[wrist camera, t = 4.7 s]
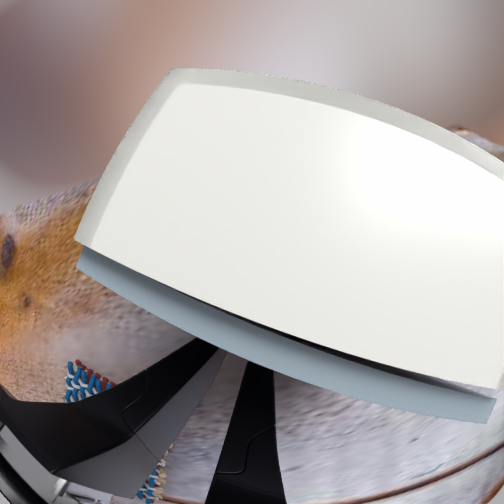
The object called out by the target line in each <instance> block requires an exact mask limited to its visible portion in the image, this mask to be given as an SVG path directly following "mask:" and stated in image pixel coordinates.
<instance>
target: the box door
mask: <svg viewBox="0 0 504 504" xmlns="http://www.w3.org/2000/svg"><path fill="white" fill-rule="evenodd" d="M76 268H77V269H79V270H80V271H82V272H83V273H85V274H87V275H88V276H90V277H91V278H93V279H94V280H96V281H97V282H99V283H101V284H102V285H104V286H105V287H107V288H109V289H110V290H112V291H114V292H115V293H117V294H118V295H120V296H122V297H124V298H125V299H127V300H129V301H130V302H132V303H134V304H136V305H137V306H139V307H141V308H143V309H144V310H146V311H148V312H150V313H152V314H154V315H155V316H157V317H159V318H161V319H163V320H165V321H167V322H169V323H170V324H172V325H174V326H176V327H178V328H180V329H182V330H184V331H186V332H188V333H190V334H192V335H194V336H196V337H198V338H200V339H202V340H205V341H207V342H209V343H211V344H213V345H215V346H217V347H220V348H222V349H224V350H226V351H228V352H231V353H233V354H235V355H238V356H240V357H242V358H245V359H247V360H249V361H252V362H254V363H257V364H259V365H261V366H264V367H266V368H269V369H272V370H274V371H277V372H279V373H282V374H285V375H287V376H290V377H293V378H295V379H298V380H301V381H304V382H307V383H309V384H312V385H315V386H318V387H321V388H324V389H327V390H331V391H334V392H337V393H340V394H343V395H347V396H350V397H353V398H357V399H360V400H364V401H368V402H371V403H375V404H379V405H383V406H387V407H391V408H395V409H399V410H404V411H408V412H413V413H418V414H423V415H428V416H433V417H439V418H445V419H451V420H458V421H465V422H473V423H482V424H486V423H487V421H488V419H489V416H490V414H491V412H492V410H493V407H494V405H495V403H496V400H497V399H495V398H492V397H489V396H486V395H484V394H481V393H478V392H475V391H472V390H470V389H467V388H464V387H462V386H459V385H456V384H454V383H451V382H448V381H446V380H443V379H440V378H437V377H433V376H429V375H425V374H421V373H417V372H413V371H409V370H405V369H401V368H397V367H393V366H390V365H386V364H383V363H379V362H375V361H372V360H369V359H365V358H362V357H358V356H355V355H352V354H348V353H345V352H342V351H339V350H336V349H332V348H329V347H326V346H323V345H320V344H317V343H314V342H311V341H308V340H305V339H302V338H299V337H297V336H294V335H291V334H288V333H285V332H282V331H280V330H277V329H274V328H271V327H269V326H266V325H263V324H260V323H258V322H255V321H253V320H250V319H247V318H245V317H242V316H240V315H237V314H234V313H232V312H229V311H227V310H224V309H222V308H219V307H217V306H215V305H212V304H210V303H207V302H205V301H202V300H200V299H198V298H195V297H193V296H191V295H188V294H186V293H184V292H181V291H179V290H177V289H175V288H172V287H170V286H168V285H166V284H163V283H161V282H159V281H157V280H155V279H152V278H150V277H148V276H146V275H144V274H142V273H139V272H137V271H135V270H133V269H131V268H129V267H127V266H125V265H123V264H121V263H119V262H117V261H115V260H113V259H111V258H109V257H107V256H105V255H103V254H101V253H99V252H97V251H95V250H93V249H91V248H89V247H87V246H85V245H84V247H83V250H82V252H81V255H80V257H79V260H78V263H77V265H76Z"/></svg>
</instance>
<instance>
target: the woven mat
mask: <svg viewBox="0 0 504 504" xmlns="http://www.w3.org/2000/svg"><path fill="white" fill-rule="evenodd" d="M75 362H76V364H75V363H72V362H68V370H69V372H68V371H67V375H68V377H64V379H65V380H66V382H67V383H66V384H65V385H66V387H67V389H68V390H67V393H64V392H63V395H64V396H65V399H64V400H65V403H67V402H74V401H78V400H82V399H84V398H87V397H89V396H92V395H94V394H97V393H99V392H101V391H104V390H106V389H109V388H111V387H113V386H115V383H113V382H110V383H109V382H108V379H107V378H105V377H103V379H102V378H100V375H99V374H98V373H95V374H94V373H93V370H91V369H86V366H85V365H81V362H80V361H79V360H78V359H77V360H76V361H75ZM74 373H75V374H74ZM70 399H71V400H70ZM172 446H173V443H172V444H171V446H170V447H169V448H172ZM167 454H168V450H167V451H166V453H165V454H164V455H165V456H167ZM158 462H159V463H158V464H157V466H156V467H155V469H154V470H153V471H152V473H151V474H150V476H149V477H148V478H147V480H146V481H145V483H144V484H143V485H142V487H141V488H140V490H139V491H138V492H137V496H138V498H140V499H143V497H144V498H146V497H147V499H146V503H147V504H151V503H153V502H154V499H155V500H157V501H158V500H159V499H163V497H162V496H160V495H158V494H163V493H164V491H163V488H162V487H158V486H159V485H161V483H162V484H164V485H165V484H166V480H164V479H162V478H165V477H167V475H166V473H165V471H164V470H163V469H161V468H160V465H162V466H163V467H164V466H165V464H166V460H164V459H161V460H160V461H158ZM158 475H159V476H160V477H161V478H160V477H158ZM147 488H148V489H147Z"/></svg>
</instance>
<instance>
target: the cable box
mask: <svg viewBox="0 0 504 504" xmlns="http://www.w3.org/2000/svg"><path fill="white" fill-rule="evenodd" d="M74 240H76V241H77V242H79V243H81V244H83V245H85V246H87V247H89V248H91V249H93V250H95V251H97V252H99V253H101V254H103V255H105V256H107V257H109V258H111V259H113V260H115V261H117V262H119V263H121V264H123V265H125V266H127V267H129V268H131V269H133V270H135V271H137V272H139V273H142V274H144V275H146V276H148V277H150V278H152V279H155V280H157V281H159V282H161V283H163V284H166V285H168V286H170V287H172V288H175V289H177V290H179V291H181V292H184V293H186V294H188V295H191V296H193V297H195V298H198V299H200V300H202V301H205V302H207V303H210V304H212V305H215V306H217V307H219V308H222V309H224V310H227V311H229V312H232V313H234V314H237V315H240V316H242V317H245V318H247V319H250V320H253V321H255V322H258V323H260V324H263V325H266V326H269V327H271V328H274V329H277V330H280V331H282V332H285V333H288V334H291V335H294V336H297V337H299V338H302V339H305V340H308V341H311V342H314V343H317V344H320V345H323V346H326V347H329V348H332V349H336V350H339V351H342V352H345V353H348V354H352V355H355V356H358V357H362V358H365V359H369V360H372V361H375V362H379V363H383V364H386V365H390V366H393V367H397V368H401V369H405V370H409V371H413V372H417V373H421V374H425V375H429V376H433V377H437V378H442V379H446V380H451V381H456V382H460V383H465V384H470V385H476V386H481V387H486V388H492V389H498V390H504V163H503V162H502V161H500V160H499V159H497V158H496V157H494V156H493V155H491V154H489V153H488V152H486V151H485V150H483V149H481V148H479V147H478V146H476V145H474V144H473V143H471V142H469V141H467V140H465V139H464V138H462V137H460V136H458V135H456V134H454V133H452V132H450V131H448V130H446V129H444V128H442V127H440V126H437V125H436V124H433V123H431V122H429V121H427V120H424V119H422V118H420V117H418V116H415V115H413V114H410V113H408V112H405V111H403V110H400V109H398V108H395V107H392V106H390V105H387V104H384V103H381V102H378V101H375V100H372V99H369V98H366V97H363V96H360V95H357V94H353V93H350V92H346V91H343V90H339V89H335V88H331V87H327V86H323V85H319V84H315V83H310V82H305V81H300V80H295V79H290V78H284V77H278V76H272V75H265V74H257V73H249V72H240V71H229V70H214V69H171V70H170V72H169V73H168V74H167V75H166V77H165V78H164V79H163V81H162V82H161V83H160V85H159V86H158V87H157V88H156V90H155V91H154V93H153V94H152V95H151V97H150V98H149V100H148V101H147V103H146V104H145V105H144V107H143V108H142V110H141V111H140V113H139V114H138V116H137V117H136V119H135V120H134V122H133V124H132V125H131V126H130V128H129V130H128V131H127V133H126V134H125V136H124V138H123V139H122V141H121V143H120V144H119V146H118V148H117V150H116V152H115V153H114V155H113V157H112V158H111V160H110V162H109V164H108V166H107V168H106V169H105V171H104V173H103V175H102V177H101V179H100V181H99V183H98V185H97V187H96V189H95V191H94V193H93V195H92V197H91V200H90V202H89V204H88V206H87V208H86V211H85V213H84V215H83V217H82V220H81V222H80V225H79V227H78V229H77V232H76V234H75V237H74Z"/></svg>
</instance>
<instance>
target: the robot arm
mask: <svg viewBox="0 0 504 504" xmlns="http://www.w3.org/2000/svg"><path fill="white" fill-rule="evenodd" d="M226 353H227V351H226V350H224V349H222V348H220V347H217V346H215V345H213V344H211V343H209V342H207V341H205V340H202V339H200V338H198V337H196V338H195V339H193V340H192V341H190V342H189V343H187V344H185V345H184V346H182V347H181V348H179V349H177V350H176V351H174V352H173V353H171V354H169V355H168V356H166V357H165V358H163V359H161V360H160V361H158V362H157V363H155V364H153V365H152V366H150V367H148V368H147V369H146V370H143V371H142V372H140V373H138V374H137V375H135V376H133V377H131V378H130V379H128V380H126V381H124V382H122V383H120V384H118V385H115V386H113V387H111V388H109V389H106V390H104V391H101V392H99V393H97V394H94V395H92V396H89V397H87V398H84V399H82V400H78V401H74V402H67V403H53V402H28V401H19V400H17V399H16V398H15V397H14V396H13V395H12V394H11V393H10V392H9V391H8V390H7V389H6V388H5V387H4V386H3V385H1V384H0V492H1V493H2V494H3V496H4V497H5V498H6V499H7V500H8V501H9V502H10V504H108V502H109V501H110V499H111V498H112V496H113V495H117V496H121V497H125V498H130V499H133V498H134V496H135V495H136V494H137V492H138V491H139V490H140V488H141V487H142V485H143V484H144V483H145V481H146V480H147V478H148V477H149V476H150V474H151V473H152V471H153V470H154V469H155V467H156V466H157V464H158V463H159V462H158V461H160V460H161V459H162V457H163V456H164V454H165V453H166V451H167V450H168V448H169V447H170V446H171V444H172V443H173V441H174V440H175V438H176V437H177V435H178V434H179V432H180V431H181V429H182V428H183V426H184V425H185V423H186V422H187V420H188V419H189V417H190V416H191V414H192V413H193V411H194V410H195V408H196V407H197V405H198V404H199V402H200V401H201V399H202V397H203V396H204V394H205V393H206V391H207V390H208V388H209V387H210V385H211V384H212V382H213V380H214V378H215V377H216V375H217V373H218V371H219V368H220V366H221V364H222V362H223V360H224V357H225V355H226ZM275 425H276V414H275V385H274V370H272V369H269V368H266V367H264V366H261V365H259V364H257V363H254V362H252V361H249V360H248V362H247V365H246V368H245V372H244V375H243V379H242V383H241V386H240V390H239V393H238V397H237V400H236V404H235V407H234V410H233V414H232V417H231V421H230V424H229V427H228V431H227V434H226V437H225V441H224V444H223V447H222V451H221V454H220V457H219V460H218V464H217V467H216V470H215V474H214V476H213V480H212V483H211V486H210V489H209V492H208V495H207V498H206V501H205V504H287V502H286V498H285V494H284V488H283V483H282V477H281V472H280V466H279V460H278V452H277V439H276V426H275Z"/></svg>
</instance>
